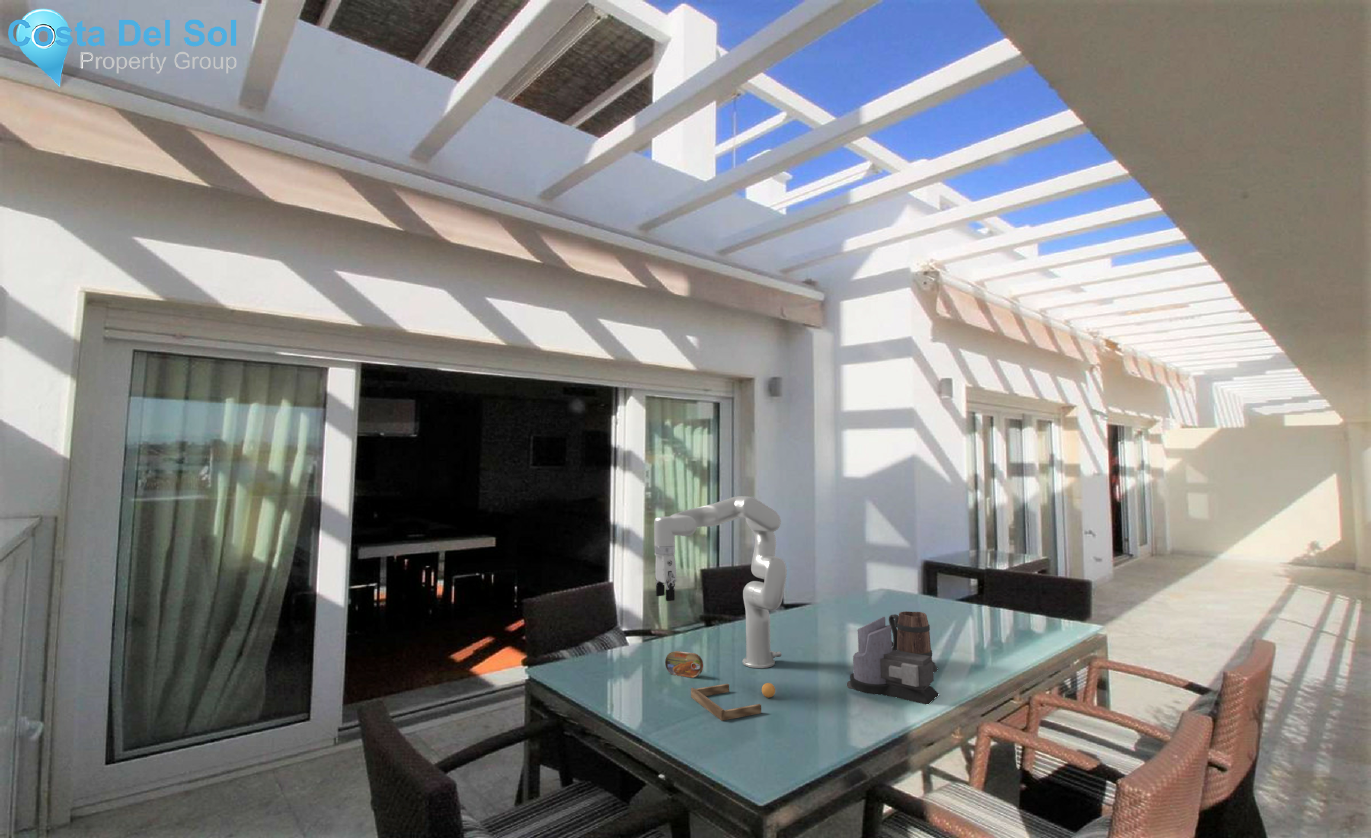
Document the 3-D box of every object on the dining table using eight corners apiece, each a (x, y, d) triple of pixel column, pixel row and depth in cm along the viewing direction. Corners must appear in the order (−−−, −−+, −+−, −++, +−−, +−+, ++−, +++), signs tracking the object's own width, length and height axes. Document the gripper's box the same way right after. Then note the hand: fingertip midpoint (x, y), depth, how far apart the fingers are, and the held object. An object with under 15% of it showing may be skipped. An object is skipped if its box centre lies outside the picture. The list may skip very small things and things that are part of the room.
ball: (770, 693, 210) (770, 680, 210) (778, 698, 206) (777, 684, 206) (759, 696, 208) (759, 682, 209) (766, 700, 204) (766, 686, 204)
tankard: (948, 669, 234) (946, 615, 236) (914, 676, 227) (912, 620, 229) (902, 653, 255) (900, 604, 257) (870, 659, 248) (868, 608, 250)
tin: (664, 673, 232) (664, 650, 233) (668, 671, 235) (668, 648, 236) (700, 679, 225) (700, 655, 226) (704, 677, 228) (704, 653, 229)
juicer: (838, 687, 216) (836, 615, 218) (858, 675, 229) (855, 607, 231) (926, 707, 197) (922, 628, 199) (942, 693, 210) (938, 619, 212)
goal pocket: (727, 691, 213) (727, 682, 213) (761, 713, 193) (761, 703, 193) (691, 697, 207) (690, 688, 208) (721, 720, 187) (721, 710, 188)
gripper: (683, 552, 221) (683, 601, 220) (665, 547, 237) (666, 593, 235) (663, 554, 218) (664, 603, 217) (647, 548, 234) (647, 595, 232)
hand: (665, 598), depth 226 cm, fingers open, 9 cm apart
